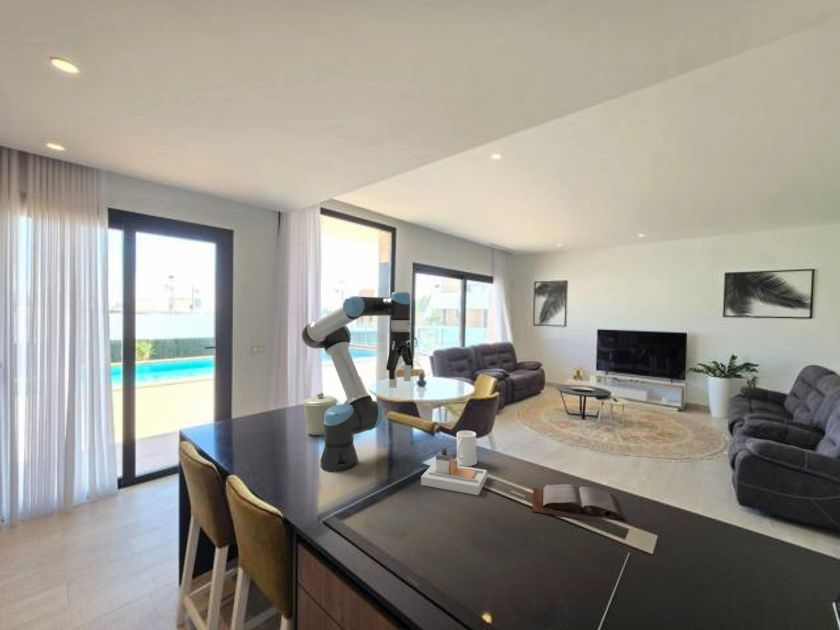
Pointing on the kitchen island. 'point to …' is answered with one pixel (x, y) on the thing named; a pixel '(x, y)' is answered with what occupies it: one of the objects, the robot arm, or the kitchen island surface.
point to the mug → (466, 448)
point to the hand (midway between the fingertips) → (400, 384)
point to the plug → (443, 462)
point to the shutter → (460, 471)
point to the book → (576, 502)
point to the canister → (317, 412)
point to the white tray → (455, 480)
